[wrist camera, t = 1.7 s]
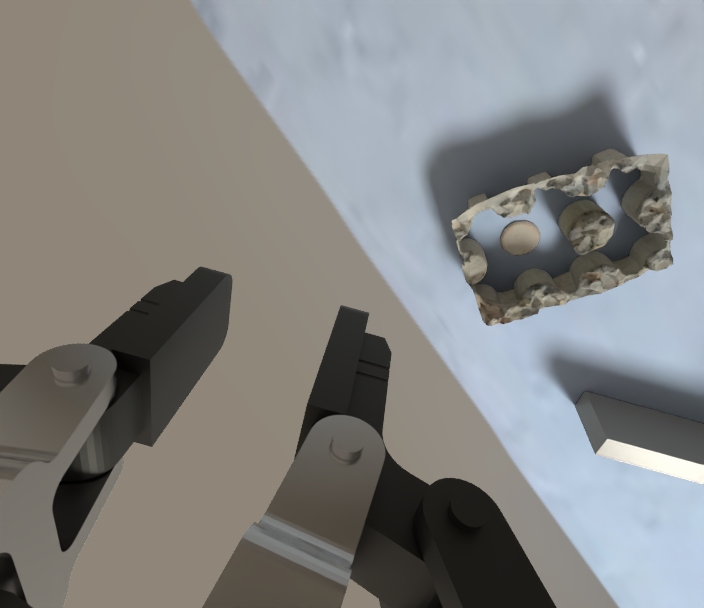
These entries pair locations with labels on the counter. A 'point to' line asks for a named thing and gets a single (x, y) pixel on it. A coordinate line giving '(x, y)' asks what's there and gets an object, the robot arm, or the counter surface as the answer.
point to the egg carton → (572, 236)
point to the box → (643, 436)
